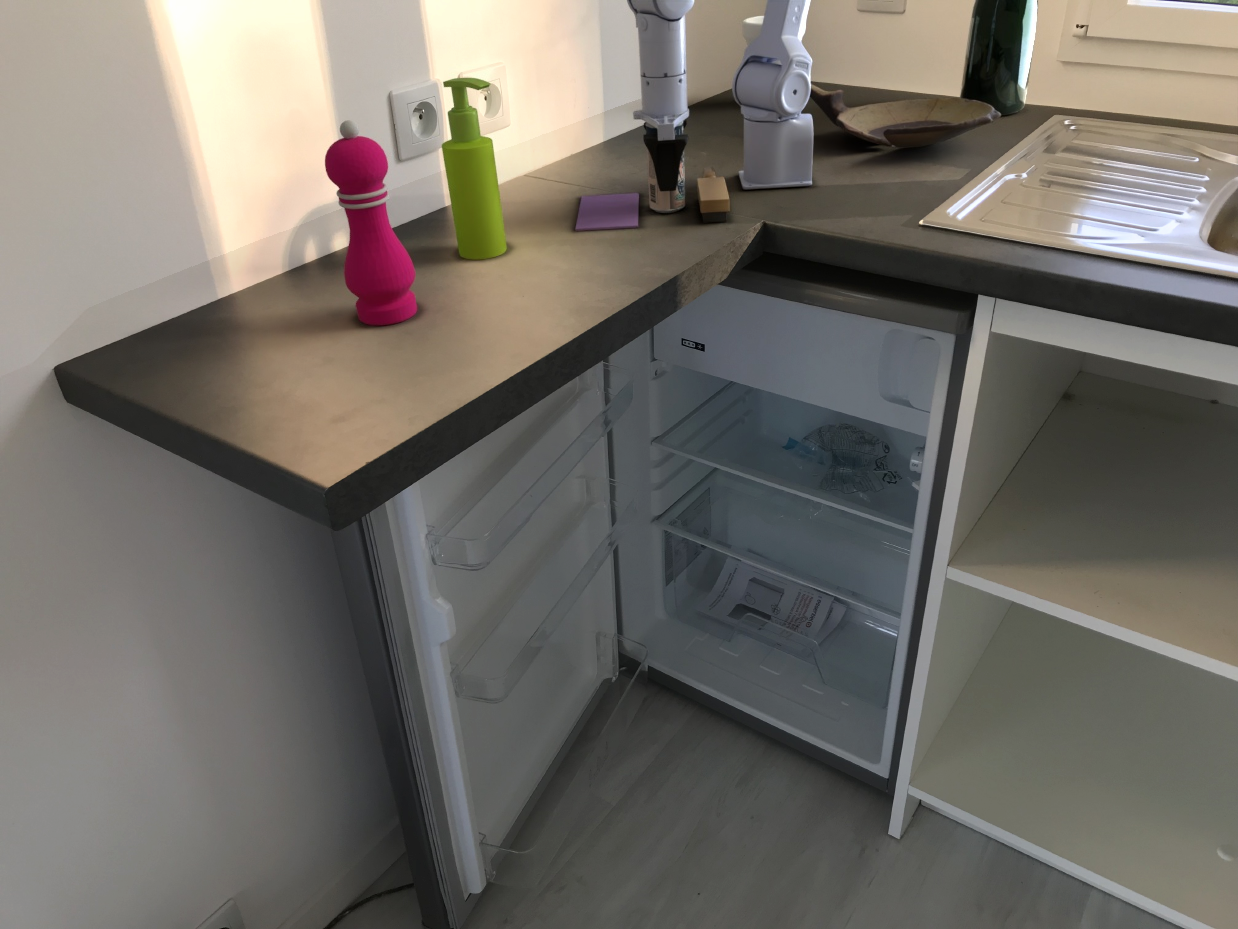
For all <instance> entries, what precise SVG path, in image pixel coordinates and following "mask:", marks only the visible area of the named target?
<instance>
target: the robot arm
mask: <svg viewBox="0 0 1238 929" xmlns="http://www.w3.org/2000/svg"><path fill="white" fill-rule="evenodd" d="M811 1H812V0H766V5H765V11H764V15H763V16H764V19H763V24H762V28H761V33H760V35H759V36H758V37H757V38H756V39H755V40H754V41H753V42H752V43H750V44H749V45H748V46H746V47H745V49H744V52H743V56H742V60H741V62H740V64H739V66H738V67H737V69H736V70H735V73H734V76H733V79H732V82H731V83H732V84H731V91H732V96H733V99H734V101H735V102H736V104H737V105H738V106H739V107H740V114H741V115H743V170H739V171H738V177H739V180H740V184H741V187H742V189H743V190H759V189H777V188H795V187H797V188H798V187H810V186H813V181H812V180H813V179H812V178H813V156H814V155H813V154H814V121H813V116H812V114H811V113H802V111H803V110H804V109H805V107H806V106H807V104H808V102H809V99H810V91H811V84H812V83H811V71H812V65H813V58H812V57H811V55H810V54H809V52H808V51H807V49H806V48H805V46H804V45H803V42H802V41H803V37H804V35H803V32H804V27H805V23H806V24H807V18H808V14H809V9H810V6H811ZM626 2H627V5H628V7H629V9H630V11H631V12H632V13H633V14H634V17H635V18H634V19H635V28H637V35H638V57H639V58H638V59H639V76H640V93H641V94H640V96H641V110H633V112H632V119H633V120H642V121H643V128H644V130H645V131H646V123H649V124H650V125H652V126H654V127H656V128H657V130H658V134H646V133H644V134H643V135H642V136H643V140H642V141H643V144H644V146H645V147H646V150H647V149H648V151H649V153H650V155H651V158H652V161H653V164H654V168H655V173H656V178H657V183H658V187H659V190H660V191H676V188H677V183H678V177H679V169H680V162H681V158H682V154H683V151H684V152H685V149H686V146H687V144H688V142H689V139H690V136H689V134H687V133H686V134H683V135H674V128H675V127H676V126H677V125H678V124H679V123H681V122H682V121H683V133H684V131H685V129H686V127H687V124H688V123H687V122H688V120H687V118H689V117H690V108H688V80H687V79H688V78H687V77H688V76H687V73H688V72H687V43H686V42H687V39H686V38H687V37H686V14H688V12H689V11H690V10H692V9H693V6H694V4H695V0H626ZM802 36H803V37H802ZM777 60H779V61H780V62H781V64H782V65H780V64H774V63H772V62H774V61H777Z"/></svg>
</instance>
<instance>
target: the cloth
mask: <svg viewBox="0 0 1238 929" xmlns="http://www.w3.org/2000/svg"><path fill="white" fill-rule="evenodd" d="M580 198H581V199H580V203H579V209H578V213H577V217H576V225H575V232H580V231H595V230H596V231H598V230H599V231H600V230H619V229H635V228H639V209H640V208H639V207H640V206H639V205H640V204H639V201H640V193H639V192H630V193H614V194H613V193H611V194H596V195H582V196H581V197H580Z"/></svg>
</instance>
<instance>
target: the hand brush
mask: <svg viewBox="0 0 1238 929" xmlns="http://www.w3.org/2000/svg"><path fill="white" fill-rule="evenodd" d="M701 175H702V177H698V178H696V188H697V189H696V190H697V197H698V203H699V209H700V213H701V217H702V222H703V224H704V223H705V224H707V223H726V222H728V212H730V197H729V191H728V188H727V183H726V180H725V176H717V174H716V171H715V168H714V167H712V166H711V165H710V166H709V165H708V166H705V167H704V168H703V169H702V172H701Z"/></svg>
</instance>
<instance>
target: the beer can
mask: <svg viewBox="0 0 1238 929" xmlns="http://www.w3.org/2000/svg"><path fill="white" fill-rule="evenodd" d="M645 134H658V130H657V128H656V127H654V126H652V125H650V124H649V123H646V130H645ZM674 135H684V132H683V121H682V122H681V123H679V124H678V125H677V126H676V127H675V128H674ZM646 161H647V180H648V202H649V208H650V209H651V210H653V211H654V212H656V213H660V214H672V213H676V212H679V211H681V209H683V208H685V206H686V182H685V181H686V180H685V179H686V178H685V177H686V176H685V150H684V151H683V154H682V158H681V162H680V169H679V177H678V183H677V188H676V191H660V190H659V187H658V183H657V178H656V173H655V168H654V164H653V161H652V158H651V155H650V153H649V151H648V149H647V148H646Z"/></svg>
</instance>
